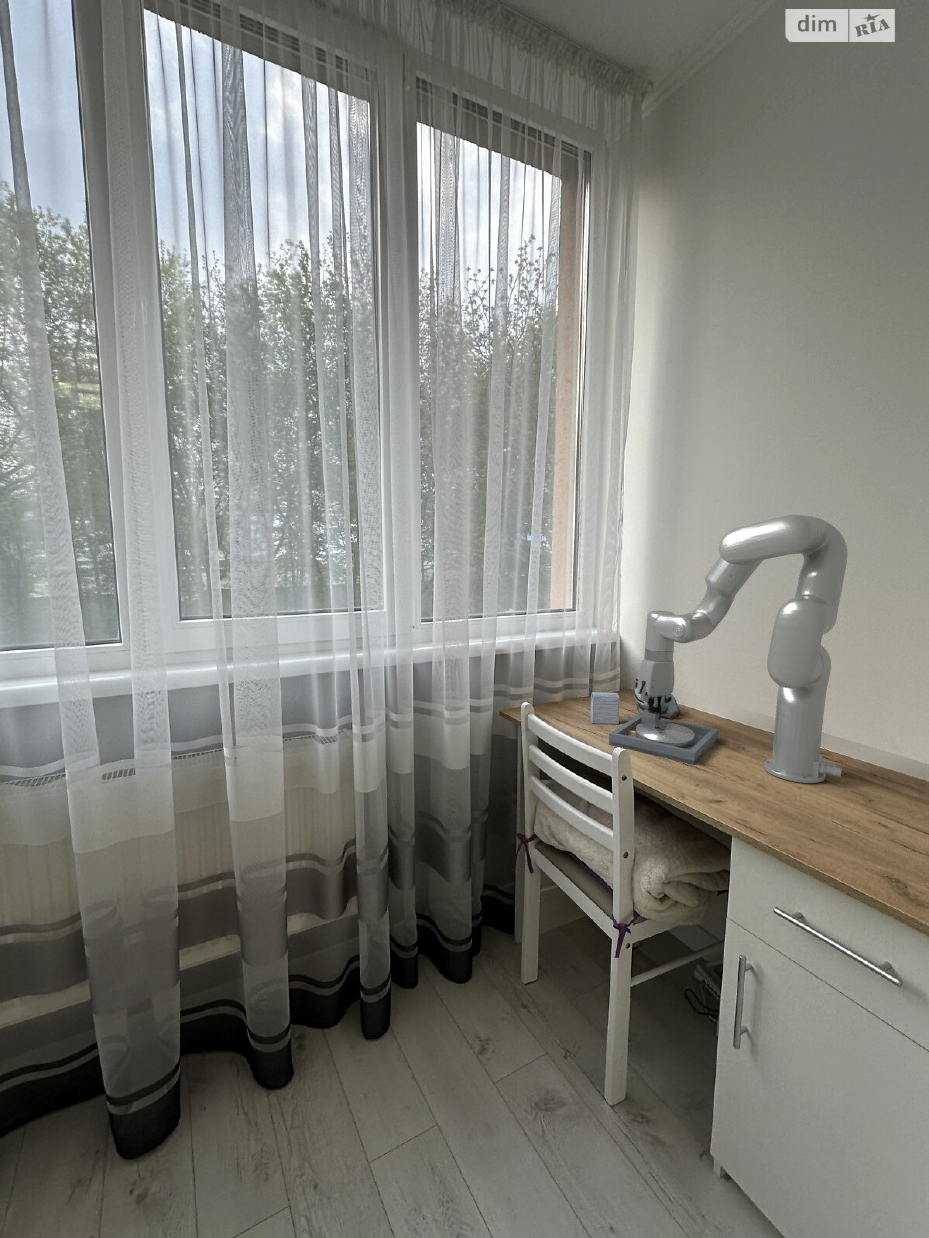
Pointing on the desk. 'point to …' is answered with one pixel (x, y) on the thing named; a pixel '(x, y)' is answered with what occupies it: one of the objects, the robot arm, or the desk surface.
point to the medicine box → (605, 708)
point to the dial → (663, 731)
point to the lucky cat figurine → (667, 709)
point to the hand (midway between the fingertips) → (654, 719)
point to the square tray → (688, 754)
